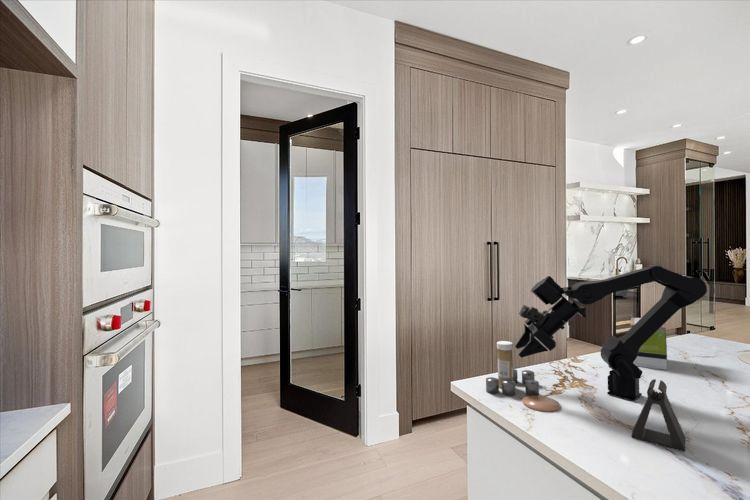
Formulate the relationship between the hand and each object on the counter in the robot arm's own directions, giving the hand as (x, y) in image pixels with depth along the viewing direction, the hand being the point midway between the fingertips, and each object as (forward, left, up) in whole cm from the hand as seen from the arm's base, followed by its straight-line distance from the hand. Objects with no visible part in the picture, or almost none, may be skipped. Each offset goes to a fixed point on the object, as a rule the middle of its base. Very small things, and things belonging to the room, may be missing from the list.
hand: (517, 351), depth 109 cm
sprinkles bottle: (+3, +2, -11) cm, 12 cm away
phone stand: (-35, +4, -11) cm, 37 cm away
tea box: (-17, -56, -11) cm, 59 cm away
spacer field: (0, +1, -11) cm, 11 cm away
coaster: (-10, +6, -11) cm, 16 cm away
